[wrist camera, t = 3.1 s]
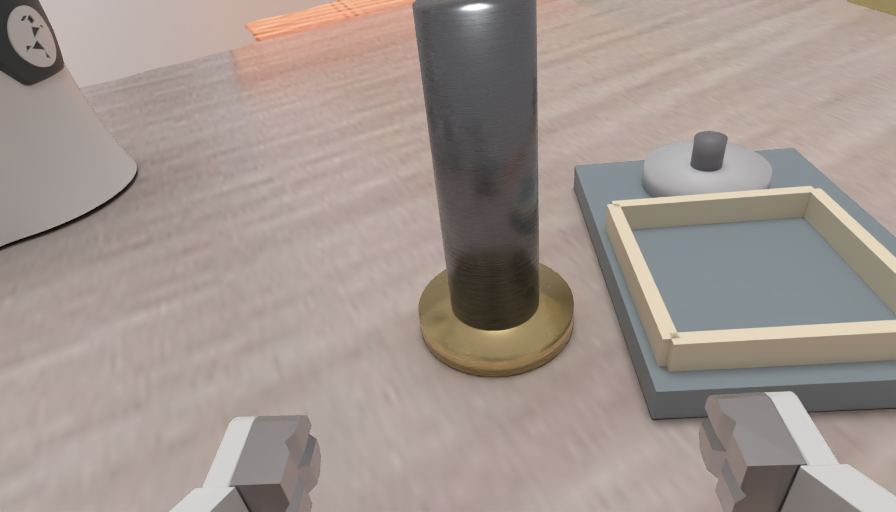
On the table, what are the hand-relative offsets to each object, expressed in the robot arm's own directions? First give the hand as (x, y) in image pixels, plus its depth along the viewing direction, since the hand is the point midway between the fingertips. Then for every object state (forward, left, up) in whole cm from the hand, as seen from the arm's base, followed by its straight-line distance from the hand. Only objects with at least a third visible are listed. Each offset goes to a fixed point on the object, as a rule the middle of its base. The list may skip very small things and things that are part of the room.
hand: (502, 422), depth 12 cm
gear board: (+12, +15, -8) cm, 21 cm away
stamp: (0, +12, -8) cm, 15 cm away
